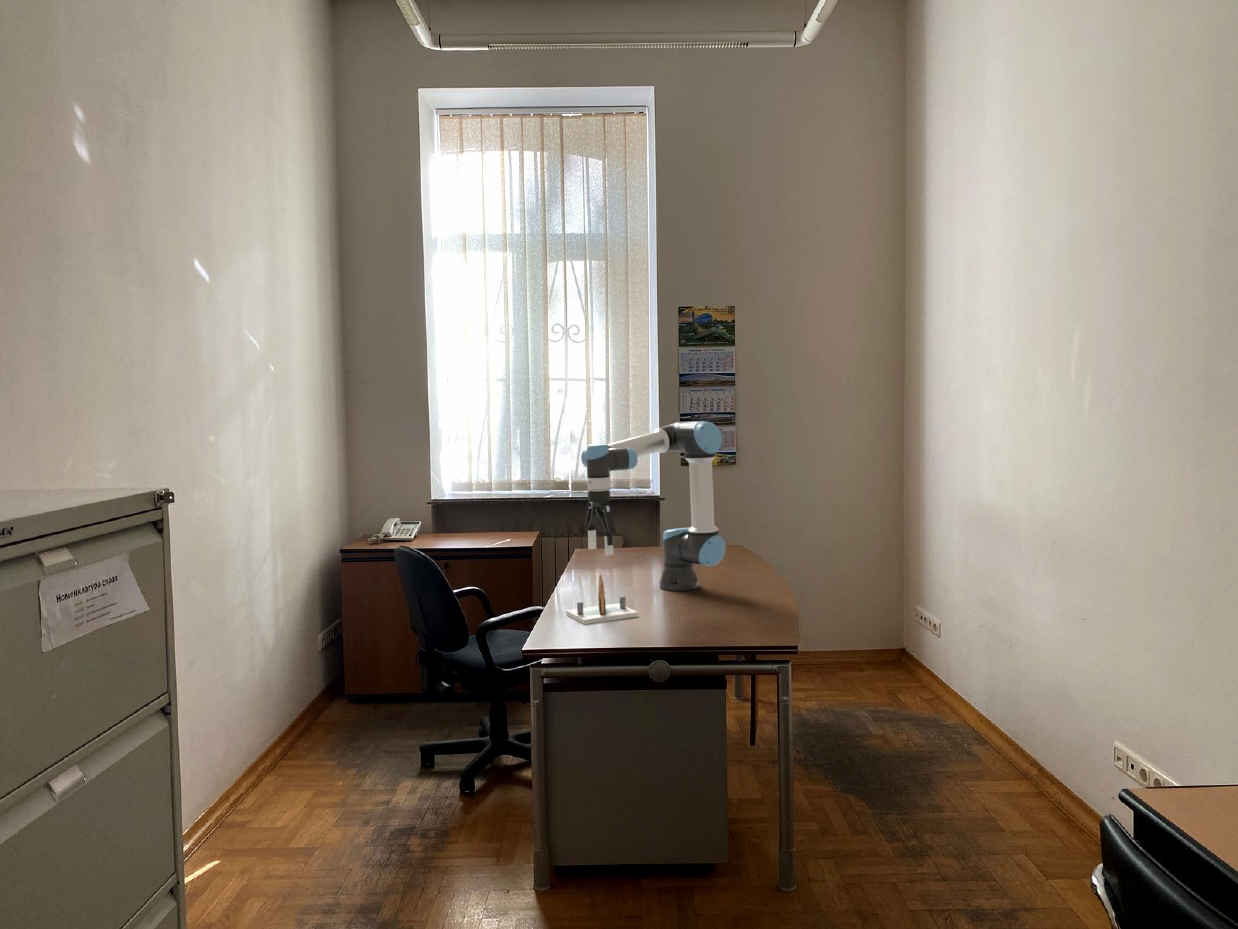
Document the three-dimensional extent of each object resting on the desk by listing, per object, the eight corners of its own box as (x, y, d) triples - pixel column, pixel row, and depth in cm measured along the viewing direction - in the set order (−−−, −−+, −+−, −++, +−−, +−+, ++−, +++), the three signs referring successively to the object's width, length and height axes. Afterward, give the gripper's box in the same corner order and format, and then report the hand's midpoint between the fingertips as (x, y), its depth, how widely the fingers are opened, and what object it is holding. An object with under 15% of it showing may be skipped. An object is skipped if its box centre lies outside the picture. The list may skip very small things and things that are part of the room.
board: (618, 607, 304) (618, 592, 304) (638, 616, 291) (637, 600, 291) (566, 614, 296) (566, 599, 295) (583, 624, 282) (583, 607, 282)
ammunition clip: (605, 614, 288) (604, 579, 287) (600, 614, 288) (599, 579, 287) (603, 607, 299) (603, 573, 298) (598, 607, 299) (597, 573, 298)
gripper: (574, 487, 300) (576, 547, 301) (604, 493, 278) (606, 558, 279) (593, 486, 303) (595, 545, 305) (625, 492, 281) (626, 556, 282)
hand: (600, 552), depth 292 cm, fingers open, 13 cm apart
